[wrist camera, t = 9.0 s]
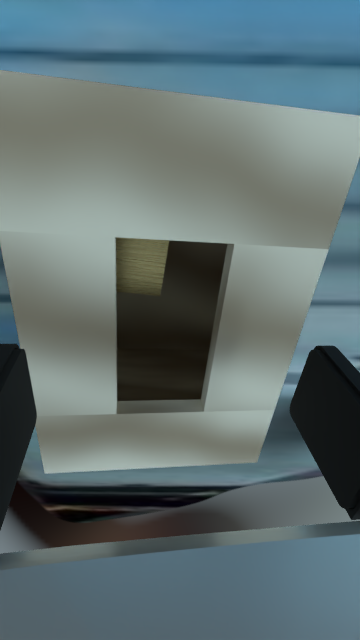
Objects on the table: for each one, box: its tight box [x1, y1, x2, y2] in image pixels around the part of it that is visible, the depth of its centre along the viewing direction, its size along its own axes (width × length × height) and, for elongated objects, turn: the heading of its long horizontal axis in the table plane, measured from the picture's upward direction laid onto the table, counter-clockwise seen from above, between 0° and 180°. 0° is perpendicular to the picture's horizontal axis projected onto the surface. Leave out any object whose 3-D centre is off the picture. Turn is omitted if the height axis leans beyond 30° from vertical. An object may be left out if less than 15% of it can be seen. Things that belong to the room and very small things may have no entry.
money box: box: [0, 70, 360, 474], centre depth 17 cm, size 16×11×10 cm
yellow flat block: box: [116, 237, 169, 296], centre depth 18 cm, size 5×2×6 cm
